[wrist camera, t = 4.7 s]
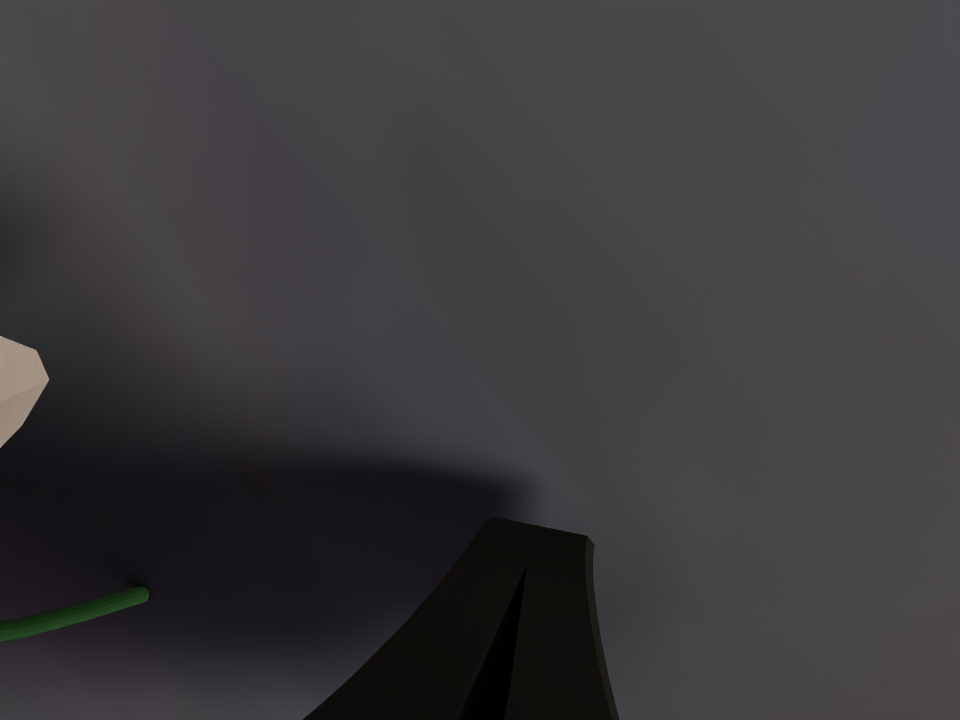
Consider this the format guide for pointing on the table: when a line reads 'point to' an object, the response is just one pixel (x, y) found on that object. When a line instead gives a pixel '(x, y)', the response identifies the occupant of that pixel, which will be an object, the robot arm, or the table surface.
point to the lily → (3, 409)
